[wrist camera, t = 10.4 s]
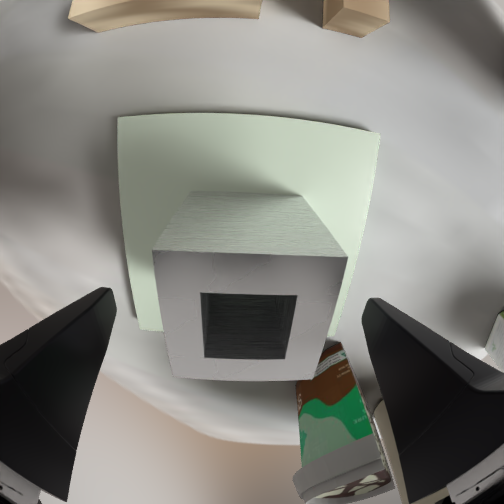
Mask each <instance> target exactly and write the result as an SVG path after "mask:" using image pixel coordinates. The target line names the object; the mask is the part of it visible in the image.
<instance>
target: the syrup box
mask: <svg viewBox="0 0 504 504" xmlns="http://www.w3.org/2000/svg"><path fill="white" fill-rule="evenodd" d="M485 350H486V351H487V353H488V354H489V355H490V357H491V358H492V359H493V361H494V362H495V363H496V364H497V366H498V367H499V369H500V370H501V371H502V372H503V373H504V311H503V312H501V313H499V314H498V316H497V319H496V321H495V323H494V326H493V328H492V331H491V334H490V336H489V339H488V341H487V344H486V346H485Z"/></svg>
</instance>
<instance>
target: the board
mask: <svg viewBox="0 0 504 504" xmlns="http://www.w3.org/2000/svg"><path fill="white" fill-rule="evenodd" d="M380 135H381V134H378V133H374V132H369V131H365V130H360V129H355V128H350V127H345V126H340V125H334V124H328V123H322V122H315V121H308V120H301V119H293V118H284V117H274V116H263V115H249V114H229V113H171V114H151V115H138V116H127V117H118V125H117V150H118V179H119V195H120V208H121V218H122V228H123V236H124V244H125V252H126V258H127V265H128V271H129V277H130V283H131V289H132V294H133V299H134V304H135V309H136V314H137V318H138V323H139V327H140V329H141V330H150V331H160V332H164V331H163V325H162V320H161V314H160V308H159V301H158V295H157V288H156V280H155V273H154V265H153V256H152V249H153V247H154V246H155V244H156V242H157V241H158V239H159V238H160V236H161V235H162V233H163V231H164V230H165V228H166V227H167V225H168V224H169V222H170V221H171V219H172V218H173V216H174V215H175V213H176V212H177V210H178V209H179V207H180V206H181V204H182V203H183V201H184V200H185V198H186V197H187V196H188V194H189V193H190V191H223V192H248V193H267V194H283V195H298V196H303V198H304V199H305V200H306V201H307V203H308V204H309V205H310V206H311V208H312V209H313V210H314V212H315V213H316V214H317V215H318V217H319V218H320V219H321V221H322V222H323V223H324V225H325V226H326V227H327V229H328V230H329V231H330V233H331V234H332V235H333V237H334V238H335V239H336V241H337V242H338V243H339V245H340V246H341V248H342V249H343V250H344V252H345V253H346V255H347V256H348V261H347V265H346V269H345V273H344V277H343V281H342V285H341V289H340V293H339V296H338V300H337V304H336V307H335V311H334V314H333V318H332V321H331V325H330V328H329V331H328V334H327V336H334V335H335V332H336V329H337V326H338V323H339V320H340V317H341V314H342V310H343V307H344V304H345V301H346V297H347V294H348V290H349V287H350V283H351V280H352V276H353V272H354V269H355V265H356V261H357V257H358V253H359V249H360V245H361V241H362V237H363V232H364V228H365V223H366V219H367V214H368V209H369V204H370V199H371V193H372V188H373V182H374V176H375V170H376V164H377V157H378V150H379V143H380Z"/></svg>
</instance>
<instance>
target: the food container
mask: <svg viewBox="0 0 504 504" xmlns="http://www.w3.org/2000/svg"><path fill="white" fill-rule="evenodd" d="M296 395H297V406H298V419H299V432H300V446H301V461H302V468H301V469H300V470H298V471H297V472H296V473H295V475H294V476H293V482H294V485H295V487H296V490H297V492H298V494H299V497H300V498H301V499H303V500H304V501H305V504H347V503H352V502H355V501H360V500H363V499H367V498H370V497H373V496H376V495H379V494H382V493H385V492H387V491H390V490H392V489H395V486H394V482H393V479H392V476H391V472H390V469H389V466H388V463H387V460H386V457H385V453H384V451H383V447H382V445H381V441H380V438H379V435H378V432H377V430H376V427H375V424H374V421H373V418H372V415H371V412H370V410H369V407H368V404H367V401H366V399H365V396H364V394H363V391H362V389H361V387H360V384H359V382H358V380H357V377H356V375H355V373H354V370H353V368H352V366H351V364H350V361H349V359H348V357H347V355H346V352H345V350H344V348H343V346H342V343H341V342H340V343H338V344H336V345H334V346H332V347H330V348H329V349H327V350H325V351H324V352H322V353H321V356H320V359H319V362H318V365H317V368H316V371H315V374H314V377H313V379H308V380H297V383H296Z"/></svg>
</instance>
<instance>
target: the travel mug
mask: <svg viewBox="0 0 504 504" xmlns="http://www.w3.org/2000/svg"><path fill="white" fill-rule="evenodd" d="M374 417H375V420H376V422H377V425H378V428H379V431H380V434H381V437H382V440H383V442H384V446H385V449H386V452H387V455H388V458H389V461H390V464H391V467H392V471H393V474H394V477H395V480H396V484H397V487H398V491H399V494H400V498H401V501H402V504H409V502H408V498H407V492H406V487H405V482H404V478H403V473H402V468H401V464H400V460H399V454H398V451H397V447H396V443H395V439H394V435H393V431H392V427H391V424H390V420H389V417H388V413H387V410H386V406H385V403H384V399H383V400H382V401H381V402H380V403H379V405H378V406H377V407H376V409H375V411H374ZM448 495H449V492H448V489H447V487H445V488H443V489H442V490H440V491H438V492H436V493H434V494H432V495H430V496H427V497H425V498H423V499H421V500H419V501H417V502H414V503H412V504H435V502H437V501H439V500H441V499H443V498H445V497H447V496H448Z"/></svg>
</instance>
